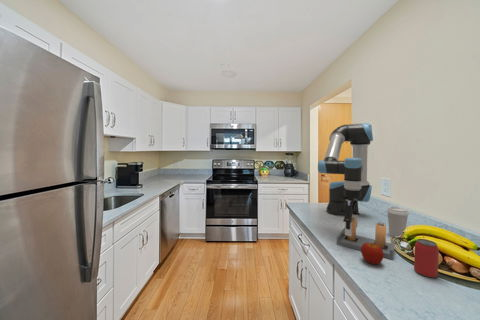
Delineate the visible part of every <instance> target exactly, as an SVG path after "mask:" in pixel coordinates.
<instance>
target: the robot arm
mask: <svg viewBox="0 0 480 320" xmlns="http://www.w3.org/2000/svg"><path fill="white" fill-rule="evenodd" d="M328 140H329V143H328V147H327V149H326V152H325V155H324V157H323V159H321V160H318V163H317V172H318V173H320V174H325V175H326V174H330V175H343V176H344V177H343V181H342V180H338V181H332V182H330V183H329V187H328V190H329V191H328V193H329V194H328V204H327V207H326V212H327V213H328V214H331V215H334V216H342V217H343V216H344V217H343V220H342V221H343V222H344V229H345V235H348V236H352V222H351V220H352V217H354V219H356V229H358V222H359V219H358V217H359V216H360V211H359V202H361V203H362V202H363V203H365V202H366V203H368V202H369V201H370V199H371V194H372V188H373V185H370V182H369V181H368V149H369V147H368V146H370V145H371V142H373V141H374V137H373V128H372V124H371V123H365V122H364V123H349V124H342V125H340V126H338V127H336V128H335V129H333V130H332V132H331V133H330V135H329V139H328ZM345 142H348V143H349V142H350V146H352V157H345V159H344V160H340V159H339V158H340V156H341V155H340V153H341V150H342V146H343V144H344V143H345ZM348 219H349V220H348Z"/></svg>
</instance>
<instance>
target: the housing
mask: <svg viewBox="0 0 480 320" xmlns="http://www.w3.org/2000/svg"><path fill="white" fill-rule="evenodd" d="M374 230H375V233H374V234H375V235H374V236H375V238H370V237H366V236H361V235H357V234H356V242H353V241H349V240H347V235H345V228H343V229H342V230H341V231H340V232H339V233H338V235H336V245H337V246H340V247H345V248H349V249H353V250H356V251H360V252H361V246H362V245H363V244H364V243H373V244H376V245H378V246H379V247H380V248H381V249H382V251H383V254H384V257H383V259H388V260H391V261H393V260H394V254H395V249H394V246H395V245H396V240H394V239H392V240H391V243H390V242H387V225H386V224H385V223H384V222H380V221H378V222H377V223H375V229H374Z"/></svg>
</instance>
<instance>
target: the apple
mask: <svg viewBox="0 0 480 320" xmlns="http://www.w3.org/2000/svg"><path fill="white" fill-rule="evenodd" d="M360 252H361V256H362V258H363V260H364V261H366V262H367V263H369V264H370V265H371V264H372V265H379V264H381V263H382V262H383V259H384V254H383V251H382V249H381V248H380V247H379V246H378V245H376V244H373V243H364V244H363V245H362V246H361V251H360Z"/></svg>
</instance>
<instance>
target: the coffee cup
mask: <svg viewBox="0 0 480 320" xmlns="http://www.w3.org/2000/svg"><path fill="white" fill-rule="evenodd" d="M386 213H387V222H388V223H387V224H388V235H389V236H390V237H391V238H394V237H395V236H400V235H402V234H403V231H404V230H405V229H407V222H408V218H409V215H410V213H409V211H408V209H407V208H404V207H399V206H389V207H388V208H387V209H386Z"/></svg>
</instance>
